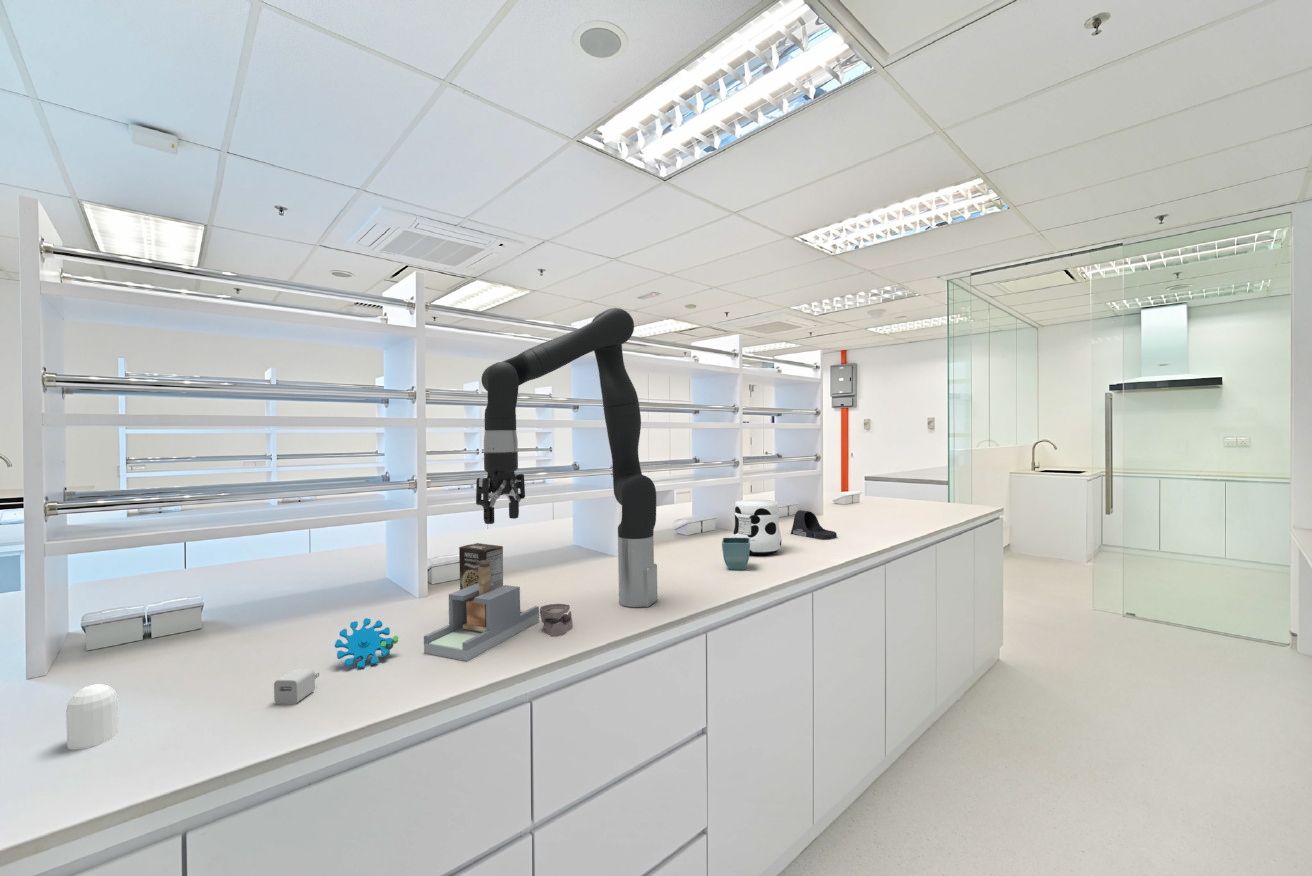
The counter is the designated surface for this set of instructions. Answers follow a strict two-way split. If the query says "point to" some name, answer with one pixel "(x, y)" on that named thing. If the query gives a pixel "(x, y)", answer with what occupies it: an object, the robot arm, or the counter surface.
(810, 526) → the sight
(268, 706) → the counter surface
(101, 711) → the white domed cylinder
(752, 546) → the milk container
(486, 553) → the coffee box
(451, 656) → the tunnel
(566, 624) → the dental mold
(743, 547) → the flower pot
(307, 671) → the usb wall charger
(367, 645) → the gear
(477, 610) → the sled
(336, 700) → the counter surface
